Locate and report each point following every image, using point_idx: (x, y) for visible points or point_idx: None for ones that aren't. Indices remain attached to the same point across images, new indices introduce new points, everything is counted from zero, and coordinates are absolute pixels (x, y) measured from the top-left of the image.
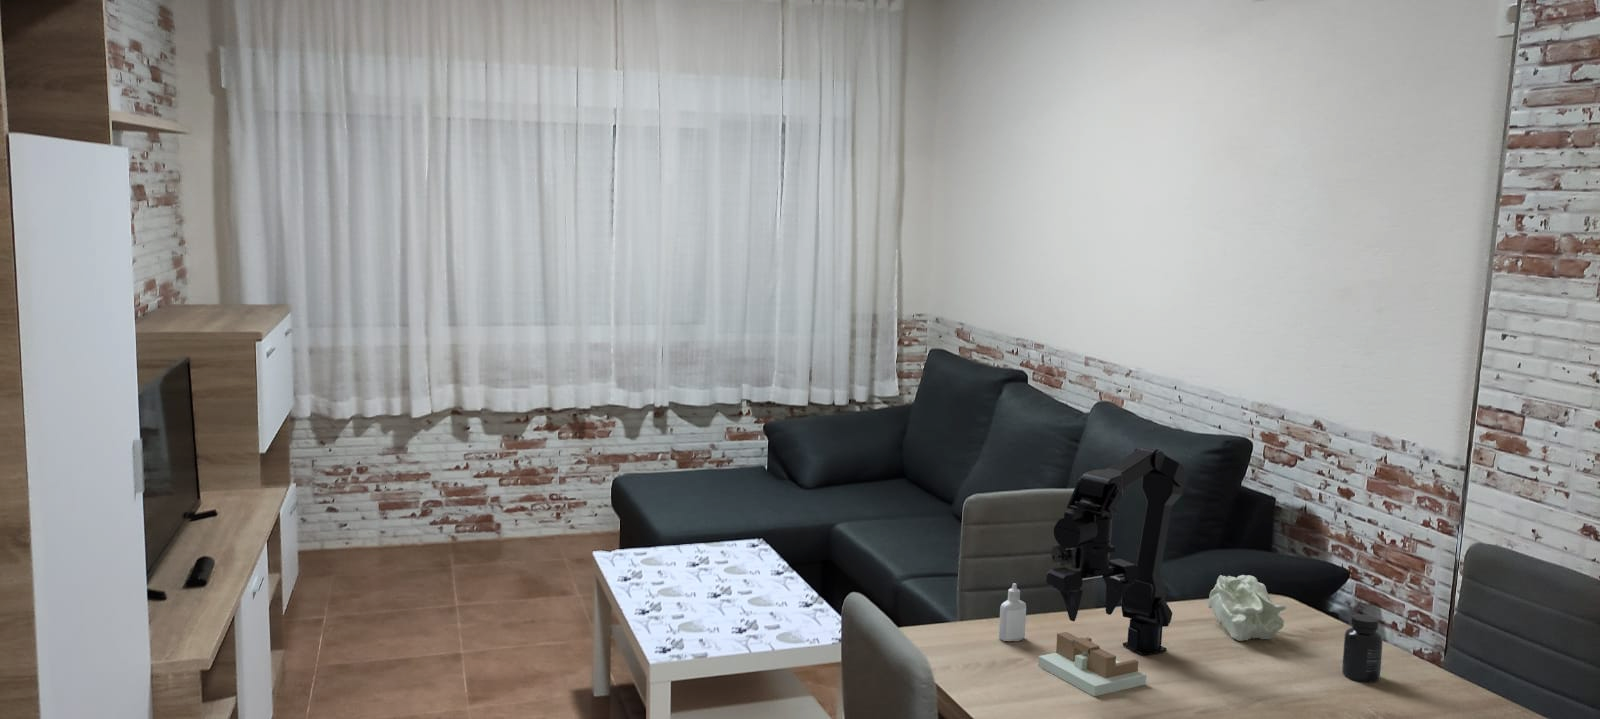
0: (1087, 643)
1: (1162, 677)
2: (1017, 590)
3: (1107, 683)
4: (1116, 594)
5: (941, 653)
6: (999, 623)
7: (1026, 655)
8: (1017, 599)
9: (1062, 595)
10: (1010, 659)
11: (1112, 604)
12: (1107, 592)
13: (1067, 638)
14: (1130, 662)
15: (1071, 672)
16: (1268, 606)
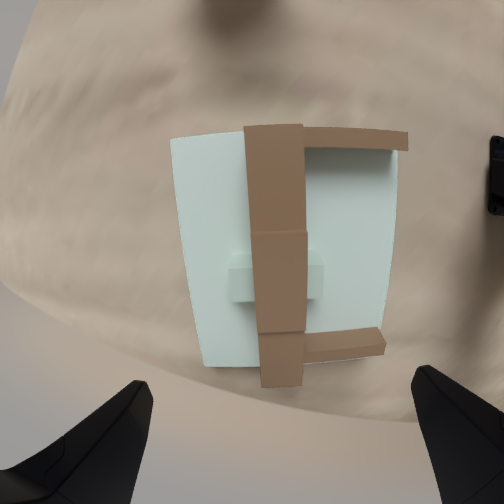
0: (279, 296)
1: (427, 320)
2: None
3: (245, 366)
4: (448, 496)
5: (31, 33)
6: None
7: (197, 58)
8: None
9: (23, 468)
10: (134, 76)
11: (428, 442)
12: (482, 451)
13: (250, 196)
14: (358, 355)
15: (194, 287)
16: None
